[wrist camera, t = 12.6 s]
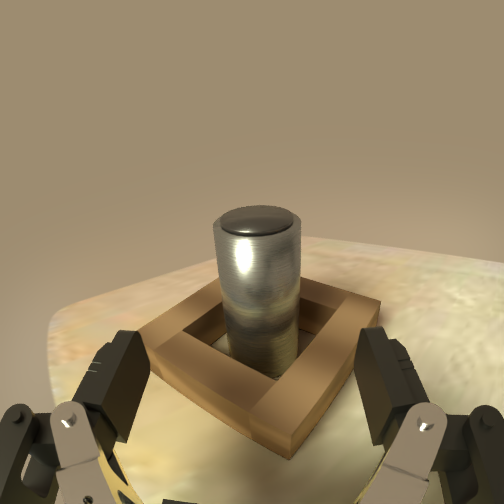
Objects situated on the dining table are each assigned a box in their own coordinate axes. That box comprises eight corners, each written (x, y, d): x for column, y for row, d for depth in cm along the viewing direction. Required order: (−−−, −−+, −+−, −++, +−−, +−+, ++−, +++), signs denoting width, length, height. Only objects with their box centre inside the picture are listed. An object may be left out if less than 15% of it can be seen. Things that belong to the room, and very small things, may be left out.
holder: (247, 287, 30) (245, 259, 28) (374, 332, 23) (381, 301, 21) (143, 364, 21) (131, 333, 20) (289, 460, 14) (291, 435, 12)
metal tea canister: (256, 324, 25) (248, 199, 20) (309, 346, 22) (316, 211, 17) (216, 360, 21) (194, 223, 17) (272, 389, 19) (267, 242, 14)
